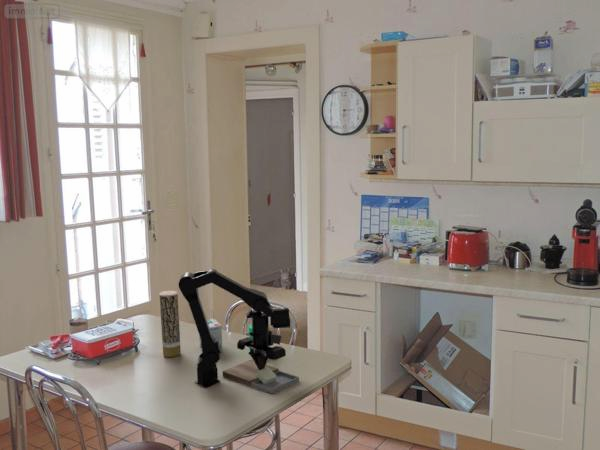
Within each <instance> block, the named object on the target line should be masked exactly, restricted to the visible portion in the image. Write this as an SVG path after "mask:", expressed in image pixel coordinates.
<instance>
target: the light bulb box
mask: <svg viewBox="0 0 600 450" xmlns="http://www.w3.org/2000/svg"><path fill="white" fill-rule="evenodd" d="M207 322H208V325H209V328H210V331H211V334H212V335H213V336H214V338H215V337H217V336H218V338H219V343H220V345H221V346H222V348H221V353H222V352H223V349H224V348H223V330H222V329H223V327H222V326H223V325H222V324H221V323H219V322H218V321H217V320H216V319H215V318H209V319H207ZM198 335H199V334H198ZM199 347H200V348H201V349H202V344H201V338H200V335H199Z"/></svg>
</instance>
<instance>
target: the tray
mask: <svg viewBox="0 0 600 450" xmlns="http://www.w3.org/2000/svg"><path fill="white" fill-rule="evenodd" d="M274 374H275V375H276V376H277V378H276V380H275V381H273V382H271V383H268V384H266V385H265V384H264V383H263V382H262V381H261V380H260V379H258V380H255V381H253V382H251V386H250V387H251V388H255V389H257V390H258V391H262V392H265V393H268V394H271V395H274V394H276V393H277V392H279V391H281V390H284V389H286V388H288V387H290V386H293V385H294V384H296V383H299V382H300V377H299V376H297V375H294V374H291V373H288V372H286V371H285V372H284V371H281V370H279V369H278V371H276V372H274Z"/></svg>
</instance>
